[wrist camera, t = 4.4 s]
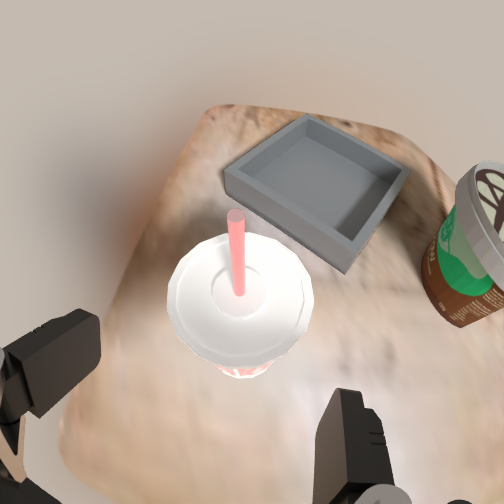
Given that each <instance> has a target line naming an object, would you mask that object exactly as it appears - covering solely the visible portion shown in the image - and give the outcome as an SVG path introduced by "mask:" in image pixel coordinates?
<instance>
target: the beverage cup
mask: <svg viewBox="0 0 504 504" xmlns="http://www.w3.org/2000/svg"><path fill="white" fill-rule="evenodd" d="M227 225H228V233H224V234H221V235H219V236H216V237H214V238H211V239H208V240H206V241H203V242H201V243H199V244H198V245H197V246H196V247H194V248H193V249H192V250H191V251H190V252H189V253H188V254H186V255H185V256H184V257H183V258H182V259H181V260H180V261H179V263H178V265H177V267H176V269H175V271H174V273H173V275H172V277H171V279H170V281H169V283H168V295H167V312H168V314H169V317H170V320H171V322H172V325H173V327H174V330H175V333H176V335H177V336H178V338H179V339H180V340H181V341H182V342H183V343H184V344H186V345H187V346H188V347H189V348H190V349H191V350H192V351H193V352H194V353H195V354H196V355H197V356H198V357H199V358H200V359H201V360H204V361H207V362H209V363H212V364H215V365H216V366H217V367H218V368H219V369H220V370H221V371H223V372H224V373H225V374H227V375H230V376H233V377H236V378H252V377H254V376H256V375H258V374H260V373H263V372H264V371H265V370H266V369H267V368H268V367H269V366H270V364H271V363H272V362H273V361H275V360H277V359H279V358H281V357H283V356H285V355H286V354H287V353H288V352H289V350H290V349H291V348H292V347H293V346H294V345H295V343H296V342H297V341H298V340H299V339H300V338H301V336H302V335H303V334H304V333H305V332H306V330H307V327H308V324H309V320H310V317H311V313H312V310H313V306H314V297H313V291H312V284H311V278H310V276H309V274H308V272H307V271H306V269H305V268H304V266H303V265H302V263H301V261H300V260H299V258H298V257H297V255H296V254H294V253H293V252H292V251H290V250H289V249H288V248H286V247H285V246H283V245H282V244H281V243H279V242H278V241H277V240H275V239H271V238H268V237H265V236H261V235H258V234H254V233H251V232H246V233H245V215H244V212H243V211H242V210H240V209H232V210H230V211H229V212H228V213H227Z"/></svg>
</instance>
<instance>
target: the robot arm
mask: <svg viewBox="0 0 504 504" xmlns="http://www.w3.org/2000/svg"><path fill="white" fill-rule="evenodd" d="M100 358H101V342H100V322H99V318H98V317H97V316H96V315H93V314H91V313H89V312H87V311H84V310H82V309H76V310H74V311H72V312H71V313H69V314H67V315H66V316H63V317H59V318H55V319H51V320H50V321H48V322H46V323H44V324H43V325H41V327H37V328H36V329H34V330H33V332H29V333H27V334H26V335H24V336H22V337H21V338H19V339H17V340H16V341H14V342H12V343H11V344H9V345H7V346H6V347H4V348H3V349H2V348H0V504H61V503H60V502H59V501H58V500H57V499H55V498H54V497H53V496H51V495H50V494H48V493H47V492H46V491H44V490H43V489H41V488H40V487H39V486H38V485H36V484H35V483H34V482H32V481H31V480H30V479H29V478H27V475H26V473H25V470H24V465H23V449H24V433H25V416H24V414H25V413H26V412H27V411H30V412H31V413H32V414H34V415H35V416H36V417H38V418H39V419H40V418H41V417H42V416H43V415H44V414H45V413H46V412H47V411H49V410H50V409H51V408H52V407H53V406H54V405H55V404H56V403H57V402H58V401H60V399H62V398H63V397H64V396H65V395H66V394H67V393H68V392H69V391H71V390H72V389H73V388H74V387H75V386H76V385H77V384H78V383H79V382H81V381H82V380H83V379H84V378H85V377H86V376H87V375H88V374H89V373H91V372H92V371H93V370H94V369H95V368H96V367H97V365H98V363H99V361H100ZM383 435H384V431H383V427H382V422H381V420H380V419H379V417H378V416H377V414H376V413H375V412H374V410H373V409H368V408H364V403H363V398H362V394H361V392H360V391H354V390H348V389H342V388H336V390H335V391H334V393H333V395H332V397H331V399H330V401H329V404H328V406H327V408H326V410H325V412H324V414H323V416H322V418H321V420H320V422H319V425H318V428H317V432H316V438H315V466H314V487H313V503H312V504H412V502H411V499H410V497H409V496H408V495H407V493H406V492H404V491H403V490H402V489H400V488H398V487H396V486H395V484H394V479H393V473H392V468H391V463H390V458H389V454H388V449H387V446H386V440H385V436H383ZM448 504H472V503H470V502H468V501H465V500H454V501H451V502H449V503H448Z"/></svg>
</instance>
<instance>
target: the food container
mask: <svg viewBox="0 0 504 504" xmlns="http://www.w3.org/2000/svg"><path fill="white" fill-rule="evenodd" d="M421 274H422V280H423V284H424V288H425V290H426V293H427V295H428V297H429V299H430V301H431V303H432V304H433V306H434V307H435V309H436V310H437V311H438V312H439V313H440V315H441V316H442V317H444V318H445V319H446V320H447V321H448V322H450V323H451V324H453V325H454V326H457V327H459V328H462V327H464V326H467V325H469V324H471V323H473V322H475V321H477V320H479V319H482V318H484V317H486V316H488V315H490V314H492V313H494V312H496V311H498V310H500V309H501V308H503V307H504V164H502V163H499V162H496V161H490V160H488V161H483V162H481V163H479V164H478V165H475V166H474V167H473V168H471V169H470V170H469V171H468V172H467V173H466V174H465V175H464V176H463V177H462V178H461V179H460V180H459V182H458V184H457V186H456V191H455V205H454V206H453V208H452V210H451V212H450V213H449V215H448V216H447V218H446V220H445V221H444V223H443V225H442V226H441V228H440V229H439V231H438V233H437V234H436V236H435V237H434V239H433V240H432V242H431V243H430V245H429V246H428V248H427V249H426V251H425V254H424V256H423V258H422V264H421Z"/></svg>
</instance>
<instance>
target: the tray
mask: <svg viewBox="0 0 504 504" xmlns="http://www.w3.org/2000/svg"><path fill="white" fill-rule="evenodd" d="M410 172H411V170H410V169H408V168H407V167H405V166H404V165H402V164H400V163H399V162H397V161H395V160H394V159H392V158H391V157H389V156H387V155H385V154H384V153H382V152H380V151H379V150H377V149H375V148H373V147H372V146H370V145H368V144H366V143H364V142H363V141H361V140H359V139H357V138H355V137H353V136H352V135H350V134H348V133H346V132H344V131H342V130H340V129H338V128H336V127H334V126H332V125H330V124H328V123H326V122H324V121H322V120H320V119H318V118H316V117H313V116H311V115H309V114H307V113H306V114H304V115H303V116H301V117H299V118H298V119H296V120H295V121H293V122H292V123H290V124H289V125H287V126H286V127H284V128H283V129H281V130H280V131H278V132H277V133H275V134H274V135H272V136H271V137H270V138H268V139H267V140H265V141H264V142H262V143H261V144H259V145H258V146H257V147H255V148H254V149H252V150H251V151H250V152H248V153H247V154H245V155H244V156H243V157H241V158H240V159H238V160H237V161H236V162H234V163H233V164H232V165H230V166H229V167H227V168H226V169H225V170H224V176H225V189H226V195H228V196H230V197H231V198H233V199H234V200H236V201H237V202H239V203H240V204H242V205H243V206H245V207H246V208H248V209H249V210H251V211H252V212H254V213H255V214H257V215H258V216H260V217H261V218H263V219H264V220H266V221H267V222H269V223H270V224H272V225H273V226H275V227H276V228H278V229H279V230H281V231H282V232H284V233H285V234H287V235H288V236H290V237H291V238H293V239H294V240H296V241H297V242H298V243H300V244H301V245H303V246H304V247H306V248H307V249H309V250H310V251H312V252H313V253H314V254H316V255H317V256H319V257H320V258H322V259H323V260H324V261H326V262H327V263H329V264H330V265H332V266H333V267H334V268H336V269H337V270H339V271H340V272H342V273H343V274H344V275H345V274H346V272H347V271H348V270H349V268H350V267H351V265H352V264H353V262H354V261H355V260H356V258H357V257H358V255H359V254H360V252H361V251H362V250H363V248H364V247H365V245H366V244H367V242H368V241H369V239H370V238H371V236H372V235H373V233H374V232H375V230H376V229H377V227H378V226H379V224H380V223H381V221H382V220H383V218H384V217H385V215H386V213H387V212H388V210H389V209H390V207H391V206H392V204H393V202H394V201H395V199H396V198H397V196H398V194H399V193H400V191H401V189H402V187H403V185H404V184H405V182H406V180H407V178H408V176H409V174H410Z"/></svg>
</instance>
